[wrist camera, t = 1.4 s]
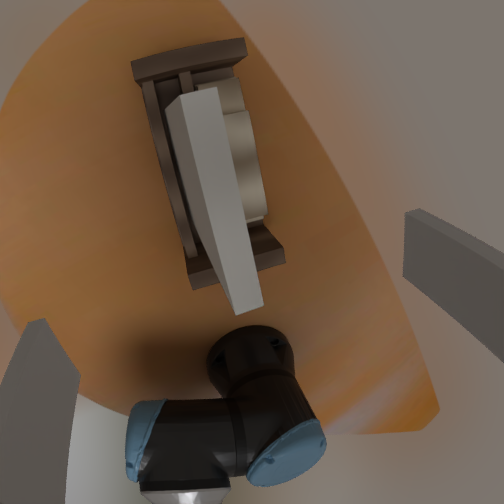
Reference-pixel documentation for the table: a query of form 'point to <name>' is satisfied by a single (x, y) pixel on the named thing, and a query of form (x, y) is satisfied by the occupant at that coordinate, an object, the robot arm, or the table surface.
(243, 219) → the sheet
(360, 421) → the table surface
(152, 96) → the rack
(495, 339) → the robot arm
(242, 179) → the offcuts
